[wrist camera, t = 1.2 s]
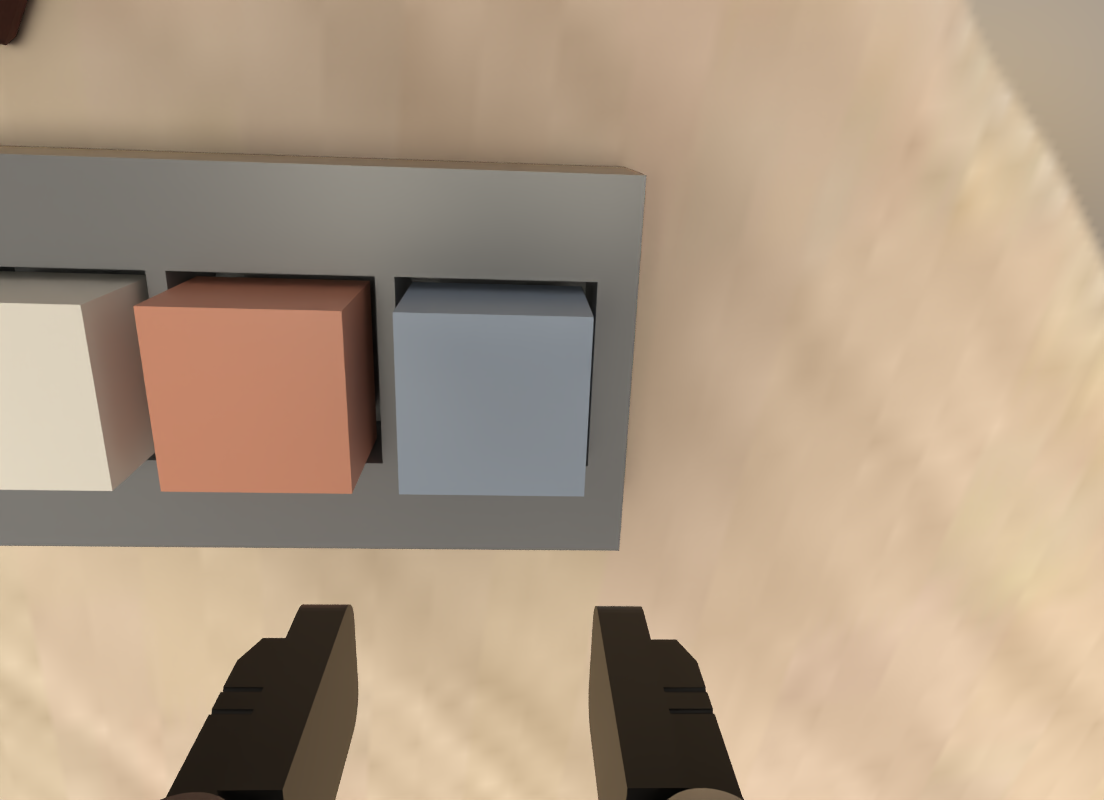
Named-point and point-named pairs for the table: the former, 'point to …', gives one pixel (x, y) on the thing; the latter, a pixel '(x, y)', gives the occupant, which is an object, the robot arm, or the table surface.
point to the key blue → (492, 389)
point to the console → (391, 266)
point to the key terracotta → (259, 384)
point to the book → (10, 18)
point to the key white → (71, 381)
